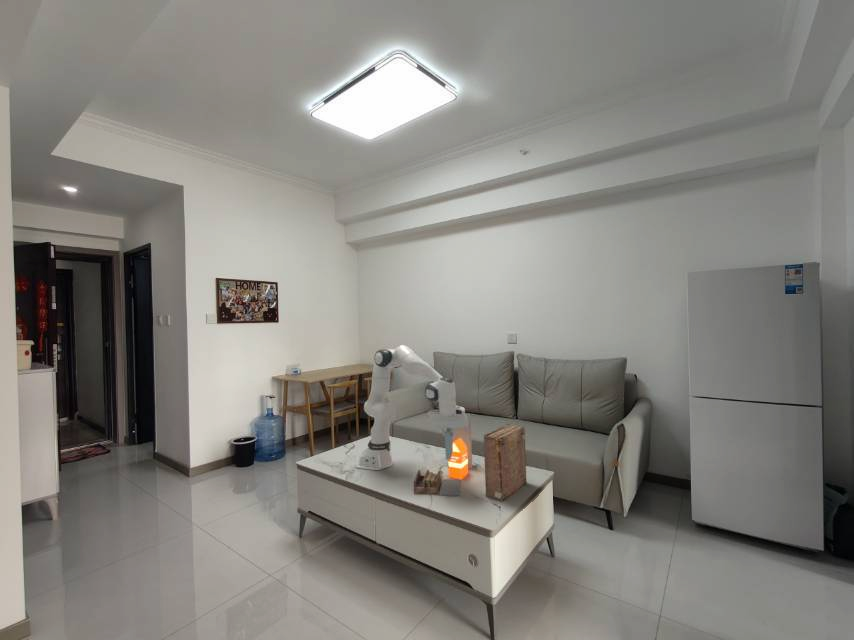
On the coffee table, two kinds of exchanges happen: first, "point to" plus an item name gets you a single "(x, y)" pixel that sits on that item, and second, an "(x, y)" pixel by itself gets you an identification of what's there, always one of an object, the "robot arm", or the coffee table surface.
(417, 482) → the rack
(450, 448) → the light blue slab
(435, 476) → the offcut
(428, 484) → the offcut
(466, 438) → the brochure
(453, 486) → the mat
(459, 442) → the orange juice
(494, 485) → the book
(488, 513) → the coffee table surface
